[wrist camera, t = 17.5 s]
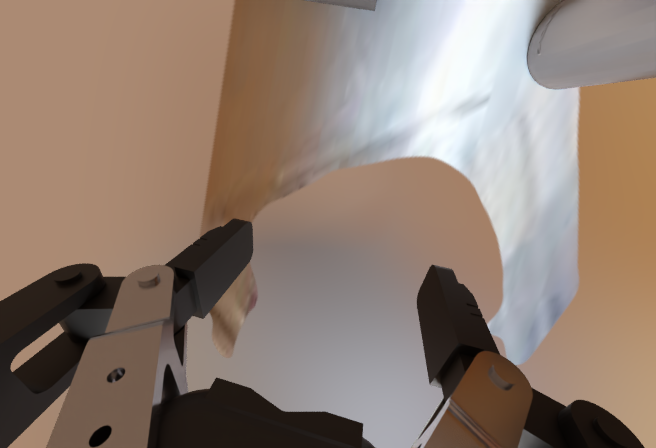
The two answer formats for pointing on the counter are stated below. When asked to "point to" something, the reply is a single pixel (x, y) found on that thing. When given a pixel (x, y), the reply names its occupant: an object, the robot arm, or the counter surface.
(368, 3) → the charcoal bin
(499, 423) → the robot arm
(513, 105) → the counter surface
